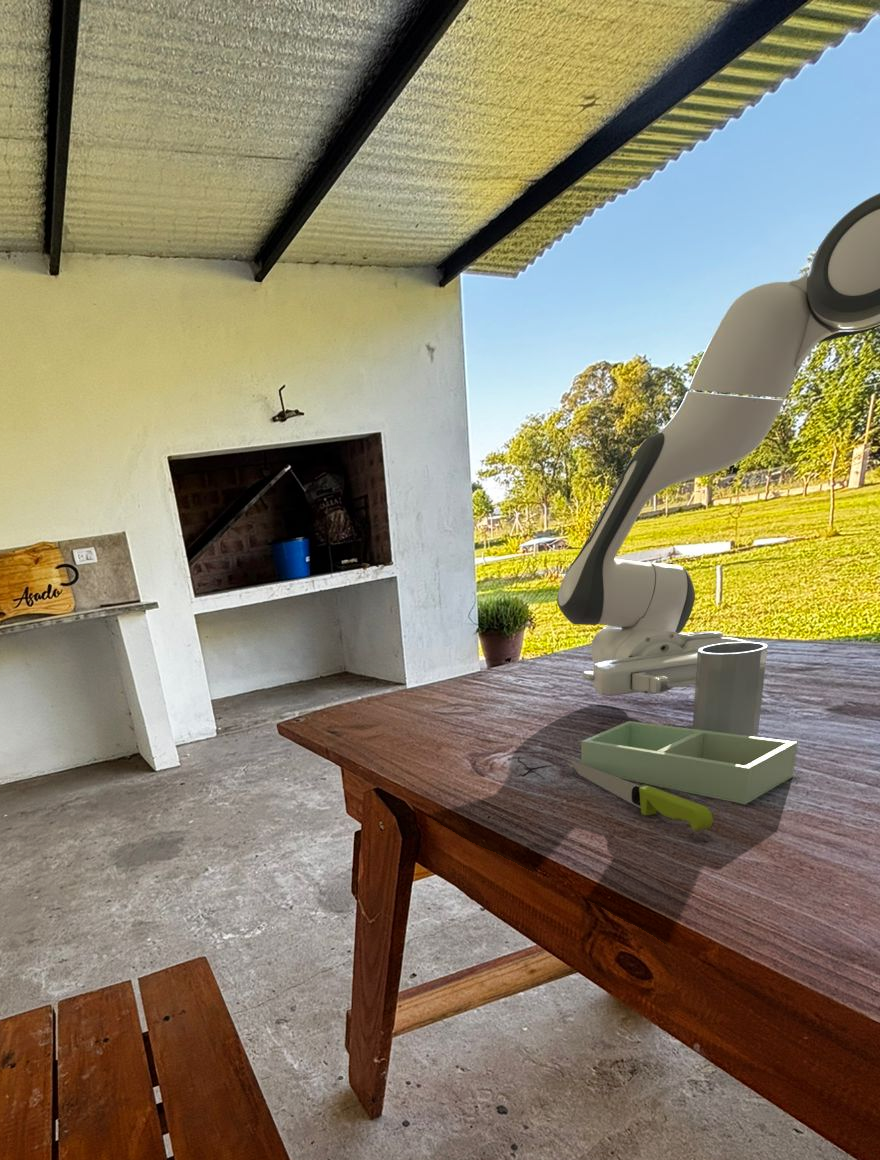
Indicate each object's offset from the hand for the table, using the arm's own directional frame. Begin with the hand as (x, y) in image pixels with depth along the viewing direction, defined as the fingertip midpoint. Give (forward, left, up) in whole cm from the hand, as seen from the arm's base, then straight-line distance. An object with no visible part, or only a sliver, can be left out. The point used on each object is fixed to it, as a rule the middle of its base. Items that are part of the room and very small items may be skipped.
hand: (702, 680), depth 77 cm
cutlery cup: (+4, +5, -7) cm, 9 cm away
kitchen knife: (+24, +6, -7) cm, 26 cm away
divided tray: (+15, +6, -7) cm, 17 cm away
